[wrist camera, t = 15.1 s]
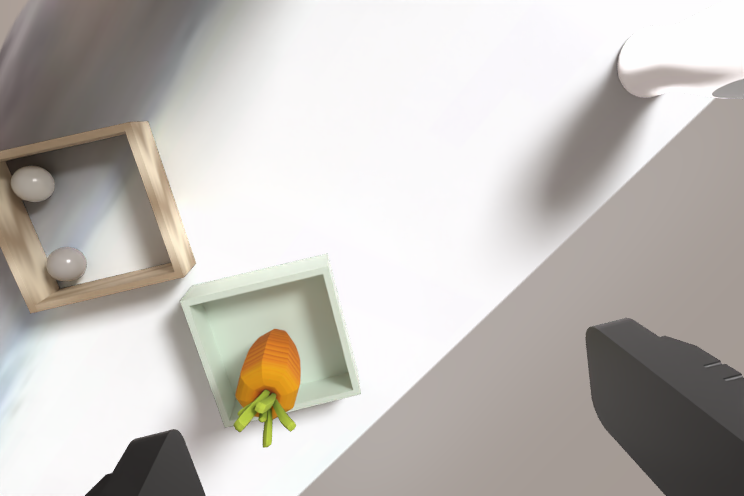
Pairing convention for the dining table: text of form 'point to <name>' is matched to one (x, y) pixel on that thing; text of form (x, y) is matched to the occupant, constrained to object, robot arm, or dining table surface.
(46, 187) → the white ball
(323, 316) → the green tray
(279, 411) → the carrot
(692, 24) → the beer glass
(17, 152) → the birch frame
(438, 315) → the dining table surface
